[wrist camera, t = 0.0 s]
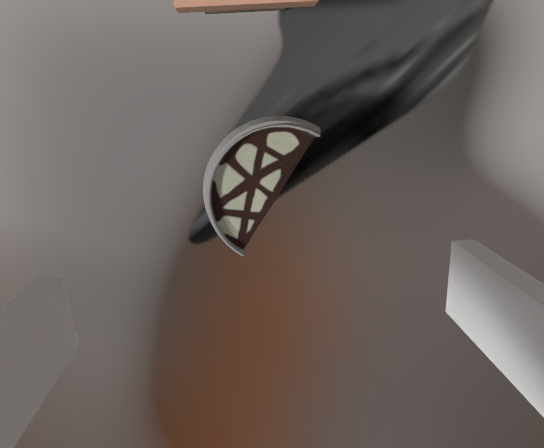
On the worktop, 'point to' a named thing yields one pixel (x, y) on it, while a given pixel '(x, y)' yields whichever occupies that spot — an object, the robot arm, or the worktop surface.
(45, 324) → the robot arm
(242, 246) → the food container
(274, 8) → the birch box
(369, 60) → the worktop surface
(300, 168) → the worktop surface
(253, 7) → the peach flat tile
